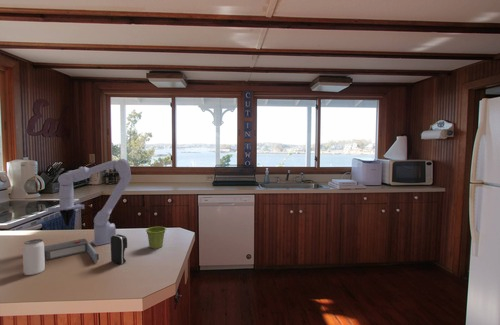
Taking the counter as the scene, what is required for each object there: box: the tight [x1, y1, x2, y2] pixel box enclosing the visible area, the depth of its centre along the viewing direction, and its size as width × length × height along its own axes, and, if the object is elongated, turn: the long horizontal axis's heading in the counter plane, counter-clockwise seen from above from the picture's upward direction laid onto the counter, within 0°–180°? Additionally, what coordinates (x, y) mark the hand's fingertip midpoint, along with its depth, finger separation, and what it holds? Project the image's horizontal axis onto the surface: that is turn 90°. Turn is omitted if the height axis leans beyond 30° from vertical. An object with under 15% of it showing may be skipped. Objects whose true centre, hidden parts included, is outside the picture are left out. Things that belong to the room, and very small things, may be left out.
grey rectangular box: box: [44, 238, 89, 261], centre depth 123 cm, size 17×8×4 cm, turn 132°
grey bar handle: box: [86, 242, 100, 264], centre depth 119 cm, size 17×2×4 cm, turn 41°
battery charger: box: [110, 233, 128, 265], centre depth 114 cm, size 7×4×11 cm, turn 60°
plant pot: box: [145, 226, 167, 250], centre depth 132 cm, size 9×9×9 cm
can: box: [22, 238, 46, 276], centre depth 104 cm, size 6×6×12 cm
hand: (66, 225), depth 132 cm, fingers closed
